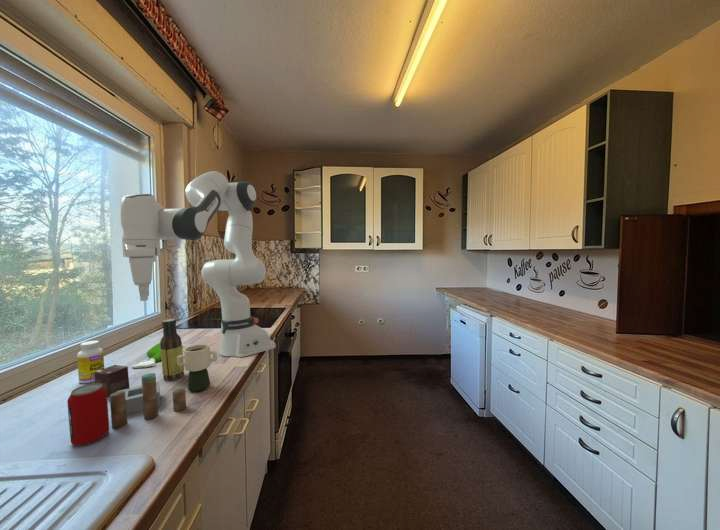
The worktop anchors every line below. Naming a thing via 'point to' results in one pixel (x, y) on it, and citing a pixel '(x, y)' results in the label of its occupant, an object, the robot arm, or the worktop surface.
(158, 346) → the spray bottle
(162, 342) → the sauce bottle
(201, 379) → the character mug
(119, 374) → the box
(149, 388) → the long pin
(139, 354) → the worktop surface
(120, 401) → the medium pin
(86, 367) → the supplement bottle
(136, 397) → the socket block
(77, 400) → the beverage can
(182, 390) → the short pin
